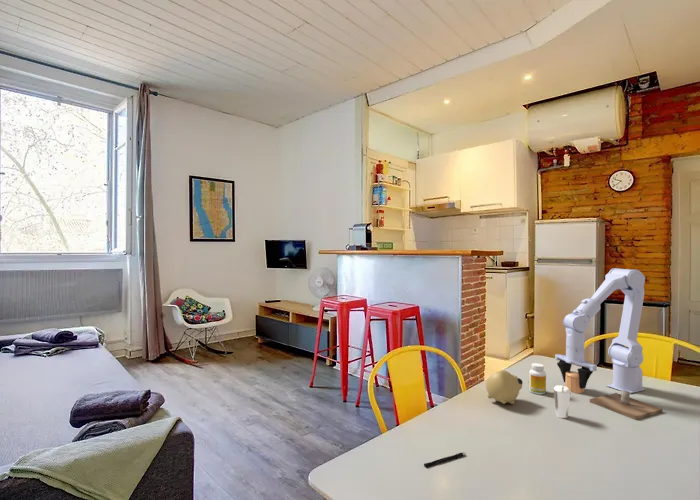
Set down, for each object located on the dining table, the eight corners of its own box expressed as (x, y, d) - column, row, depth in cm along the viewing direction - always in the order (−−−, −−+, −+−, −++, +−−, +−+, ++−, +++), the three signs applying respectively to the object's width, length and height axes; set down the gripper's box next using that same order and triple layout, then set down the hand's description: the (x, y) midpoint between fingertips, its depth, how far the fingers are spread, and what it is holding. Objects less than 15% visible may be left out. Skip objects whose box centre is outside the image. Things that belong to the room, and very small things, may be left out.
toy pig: (528, 403, 125) (528, 371, 125) (506, 411, 118) (506, 377, 118) (501, 393, 133) (502, 363, 133) (479, 400, 126) (480, 368, 126)
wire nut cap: (572, 386, 140) (572, 370, 140) (586, 391, 135) (587, 375, 135) (561, 388, 138) (562, 372, 138) (576, 394, 133) (576, 377, 133)
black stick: (463, 454, 94) (463, 450, 94) (466, 456, 93) (466, 452, 93) (423, 466, 88) (423, 462, 88) (426, 469, 87) (426, 464, 87)
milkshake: (553, 418, 114) (554, 385, 114) (553, 411, 119) (553, 379, 118) (570, 421, 112) (571, 388, 112) (569, 414, 116) (570, 382, 116)
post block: (615, 395, 132) (616, 381, 132) (662, 412, 119) (662, 396, 119) (589, 401, 126) (590, 387, 126) (635, 419, 114) (635, 403, 114)
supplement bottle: (548, 395, 132) (549, 367, 132) (533, 394, 132) (533, 367, 132) (541, 389, 137) (541, 362, 137) (526, 388, 137) (526, 362, 137)
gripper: (549, 343, 142) (548, 379, 142) (587, 354, 128) (586, 393, 128) (562, 341, 144) (561, 377, 145) (600, 351, 131) (600, 390, 131)
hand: (574, 384), depth 137 cm, fingers closed on wire nut cap, 6 cm apart
